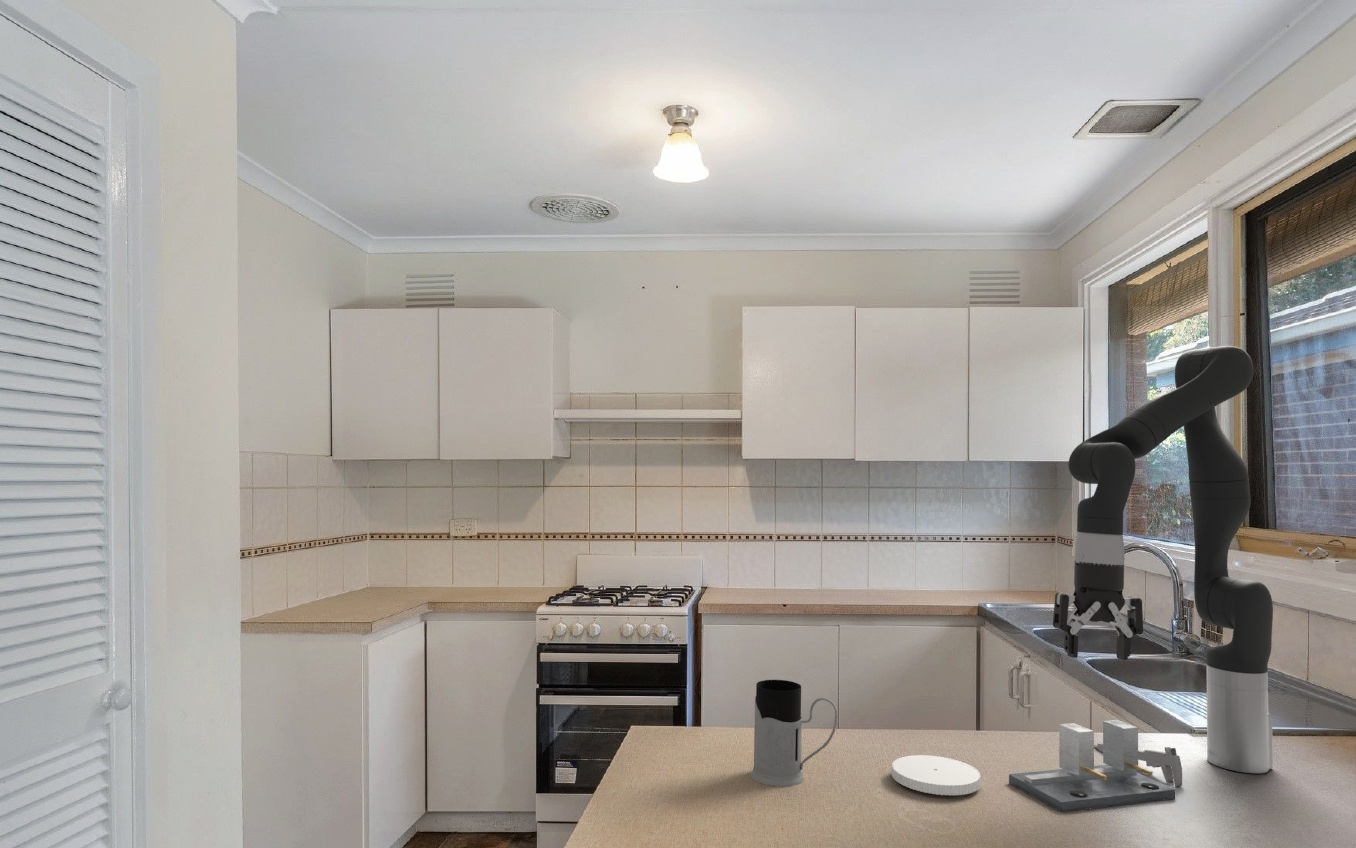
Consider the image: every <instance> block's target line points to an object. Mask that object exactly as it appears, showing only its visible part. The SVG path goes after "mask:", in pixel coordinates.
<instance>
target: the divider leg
mask: <svg viewBox="0 0 1356 848" xmlns="http://www.w3.org/2000/svg"><path fill="white" fill-rule="evenodd" d="M1058 728H1059V729H1058V730H1059V731H1058V733H1059V734H1058V742H1059V743H1058V744H1059V746H1058V751H1059V752H1058V753H1059V755H1058V757H1059V759H1058V763H1059V764H1058V766H1059V769H1064V770H1066V771H1069V772H1071V773H1073V774H1075V775H1077V776H1089V775H1094V776H1096V777H1098V778H1100V779H1102V780H1107V776H1106V775H1104V774H1101V773H1099V772H1097V771H1095V770H1094V766H1095V748H1094V745H1095V731H1094V730H1093V729H1090V728H1087V727H1084V726H1083V725H1080V724H1077V723H1074V722H1070V723H1061V724H1060V723H1059V726H1058Z"/></svg>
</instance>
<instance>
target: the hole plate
mask: <svg viewBox="0 0 1356 848" xmlns="http://www.w3.org/2000/svg"><path fill="white" fill-rule="evenodd" d="M1094 770H1095V771H1097V772H1099V773H1101V774H1104V775H1106V776H1107V780H1102V779H1100V778H1098V777H1096V776H1094V775H1089V776H1077V775H1075V774H1073V773H1071V772H1069V771H1066V770H1064V769H1062V768H1059V769H1058V768H1057V769H1050V770H1049V769H1047V770H1037V771H1027V772H1019V773H1017V772H1016V773H1009V774H1008V784H1010V786H1013V787H1015V788H1016V787H1017V788H1016V789H1018V790H1020V791H1022V790H1023V791H1022V792H1024V793H1026V794H1027V795H1029V794H1030V796H1031V797H1033V798H1034V799H1036V800H1039V801H1041V802H1042V803H1044V804H1046V805H1047V806H1049V807H1051V808H1053V809H1055V810H1057V811H1058V812H1060V813H1065V812H1066V811H1067V812H1073V811H1083V810H1084V809H1085V810H1091V809H1090V808H1093V809H1100V808H1099V807H1102V808H1109V807H1116V806H1117V807H1118V806H1126V805H1134V804H1137V805H1138V804H1144V803H1152V802H1161V801H1171V800H1176V789H1175V788H1173V787H1170V786H1168V785H1166V784H1164V783H1161V782H1160V781H1157V780H1155V779H1153V778H1150V777H1148V776H1145V775H1144V774H1140V773H1138V771H1128V772H1123V771H1120V770H1118V769H1116V768H1114V767H1111V766H1109V765H1107V764H1102V765H1101V764H1100V765H1094ZM1085 810H1084V811H1085Z"/></svg>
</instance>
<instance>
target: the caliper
mask: <svg viewBox="0 0 1356 848" xmlns="http://www.w3.org/2000/svg"><path fill="white" fill-rule="evenodd" d="M1094 749H1097V750H1098V751H1100V752H1101V753H1103V742H1099V743H1097V744H1096V745H1095V744H1094ZM1164 751H1165V752H1163V751H1158V750H1153V749H1144V751H1143V750H1140V749H1138V761H1143V762H1145V765H1146V766H1147V767H1152V768H1160V769H1161V771H1162V774H1163V777H1164V780H1165V782H1166V783H1167V784H1168V785H1170V784H1173V785H1174V787H1175V788H1176V787H1182V786H1183V767H1182V761H1181V757H1180V755H1178V754H1177V750H1176V747H1170V746H1165V747H1164Z"/></svg>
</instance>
